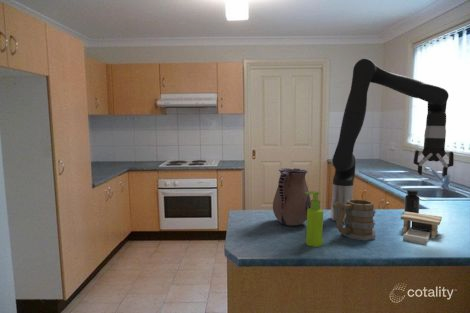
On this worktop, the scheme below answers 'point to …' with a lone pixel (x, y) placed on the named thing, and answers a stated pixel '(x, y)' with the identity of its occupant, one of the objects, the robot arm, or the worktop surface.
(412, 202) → the supplement bottle
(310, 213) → the soap dispenser
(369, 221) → the tankard
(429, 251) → the worktop surface
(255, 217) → the worktop surface
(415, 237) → the white pull-out drawer
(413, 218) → the small wooden table
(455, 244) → the worktop surface
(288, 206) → the ceramic pitcher
